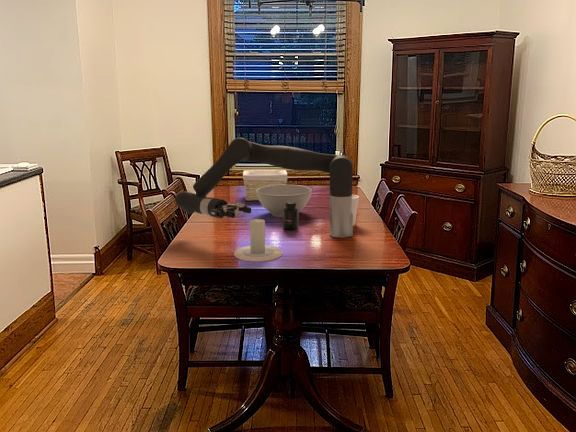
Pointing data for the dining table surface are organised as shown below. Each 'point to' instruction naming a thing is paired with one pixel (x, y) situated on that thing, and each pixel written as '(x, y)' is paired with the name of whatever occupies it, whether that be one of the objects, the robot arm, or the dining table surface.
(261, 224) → the white tapered cylinder
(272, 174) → the storage basket
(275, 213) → the decorative bowl
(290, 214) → the supplement bottle
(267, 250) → the dish
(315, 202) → the dining table surface
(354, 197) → the foam cup
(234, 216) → the robot arm
